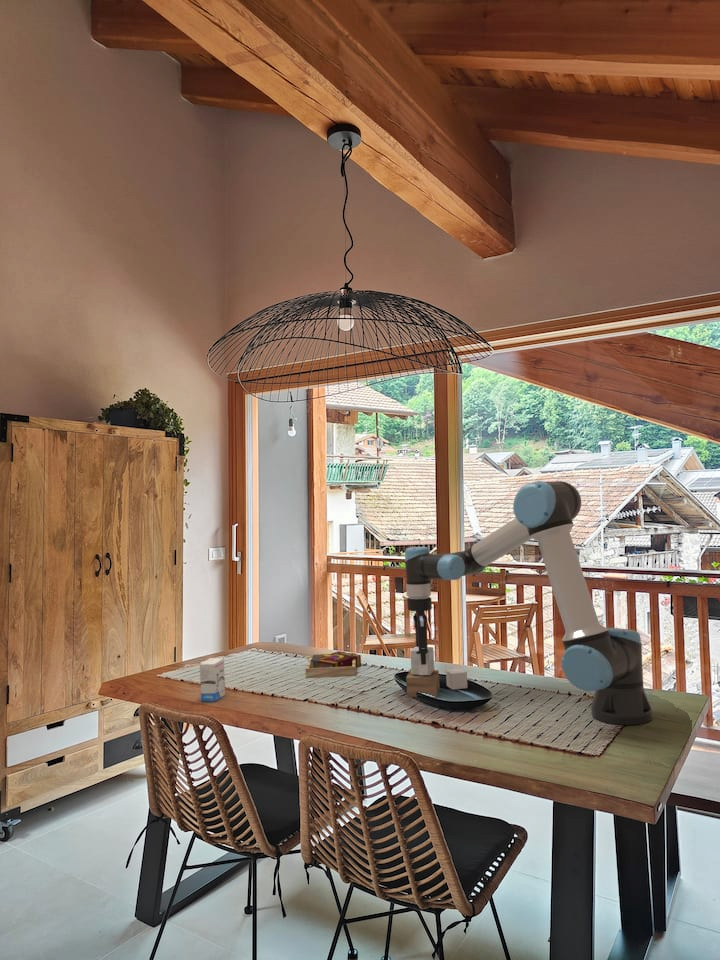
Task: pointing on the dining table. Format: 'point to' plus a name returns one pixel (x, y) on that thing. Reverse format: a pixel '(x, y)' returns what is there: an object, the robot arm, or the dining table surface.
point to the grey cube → (456, 679)
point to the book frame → (329, 669)
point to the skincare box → (416, 661)
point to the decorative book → (336, 660)
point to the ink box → (212, 679)
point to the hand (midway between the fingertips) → (422, 671)
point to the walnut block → (423, 684)
